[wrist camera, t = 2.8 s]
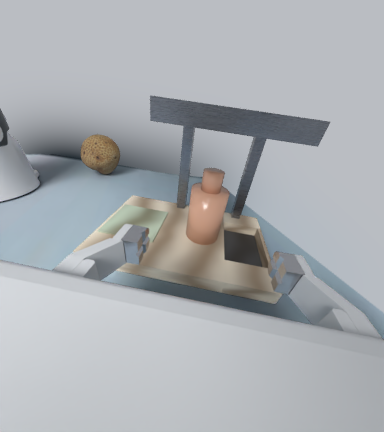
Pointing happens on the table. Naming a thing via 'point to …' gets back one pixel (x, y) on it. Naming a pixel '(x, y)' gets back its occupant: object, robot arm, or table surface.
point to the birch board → (194, 250)
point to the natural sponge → (100, 153)
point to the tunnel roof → (238, 124)
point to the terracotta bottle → (207, 207)
